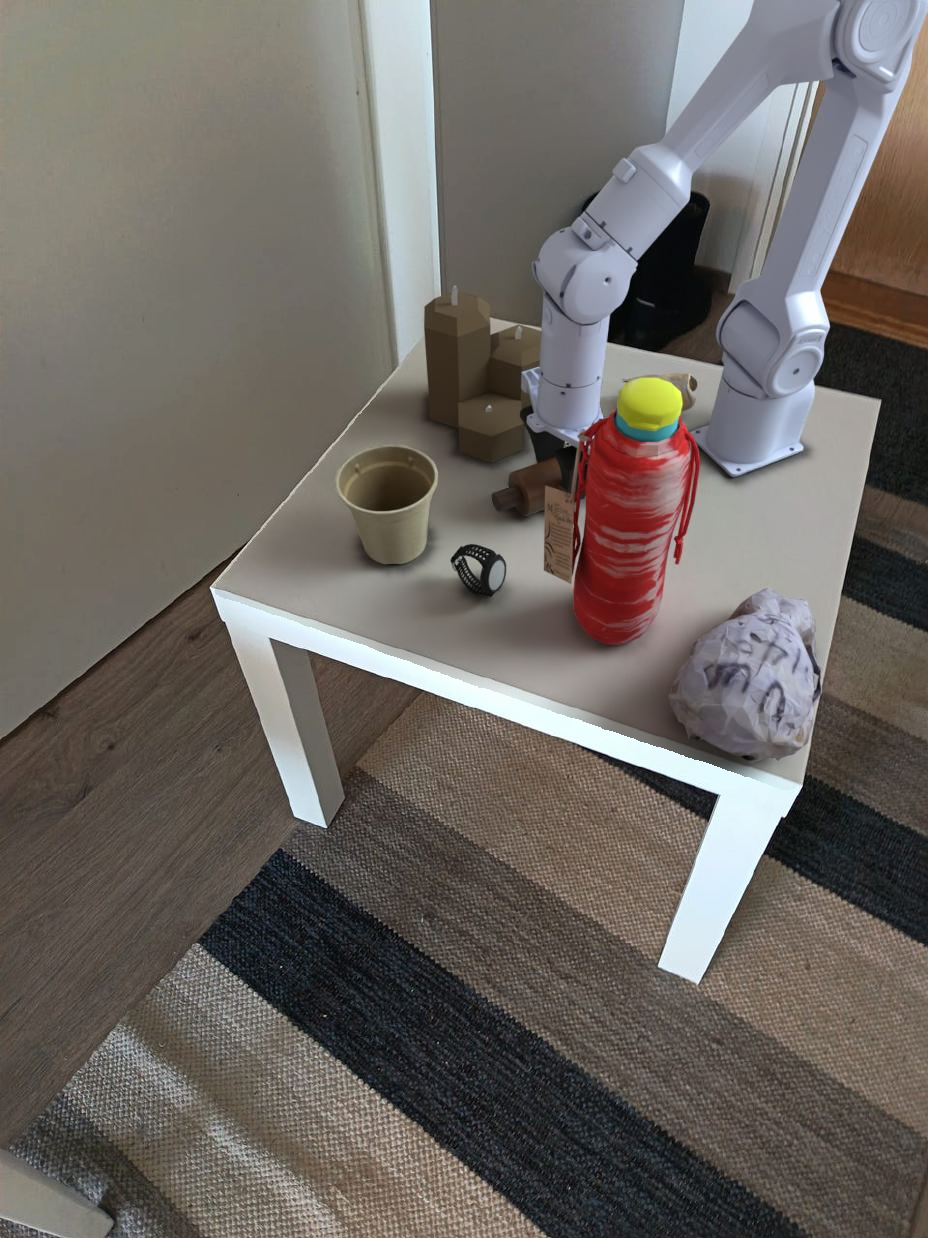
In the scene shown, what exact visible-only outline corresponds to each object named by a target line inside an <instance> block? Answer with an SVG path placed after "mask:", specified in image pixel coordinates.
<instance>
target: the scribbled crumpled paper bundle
mask: <svg viewBox="0 0 928 1238" xmlns="http://www.w3.org/2000/svg"><path fill="white" fill-rule="evenodd" d="M816 632H817V630H816V619H815V618H814V617H813V614H812V611H811V608H810V606H809V602H808V601H807V600H805V599H802V598H800V599H795V598H789V597H785V596H783V595H781V594H780V593H778V592H777V591H776V590H775V589H772V588H771V587H766V588H763V589H761V590H760V591H757V592H755V593H753V594H751V595H750V596H749V597H747V598H746V599H745V600H742V602H740V603H739V605H738V606H737V607H736V609H735V610H734V611H733V612H732V614H731V615H730V617H729V619H728V620H726V621H725V622H722V623H721V624H719V625H716V626H715V627H713V628H711V629H710V630H708V631H707V632H705V634H703V635H702V636H701V637H700V638H699V639H697V640H696V641H694V642H693V645H692V648H691V649H690V657H689V659H688V660H687V661H686V662H685V663H683V664H682V665H681V666H680V667H679V668H678V670H677V671H676V672H675V673H674V677H673V680H672V683H671V687H670V691H669V692H670V693H668V696H667V697H668V699H669V702H670V705H671V707H672V710H673V712H674V714H675V716H676V719H677V721H678V723H681V724H682V725H684V727H685V730H686V733H687V738H688V739H689V740H691V741H697V740H703V741H706V742H707V743H708V744H710V745H711V746H713V747H714V748H716V749H718V750H720V751H725V752H727V753H729V754H730V755H733V756H735V757H742V758H743V760H745V761H747V762H749V763H751V764H755V763H757V762H758V761H761V760H765V759H766V758H771V759H776V761H780V760H781V759H783V758H786V757H788V756H792V755H795V754H796V753H797V752H799V751H800V750H801V749H802V748H804V747H805V746H807V744H808V743H809V739H810V735H811V732H812V729H813V727H814V719H815V710H814V708H813V707H814V706H815V705H816V704H817V702H818V701H819V699H820V697H821V695H822V694H823V686H822V667H821V666H820V665H819V663H818V659H817V653H816ZM815 675H816V676H817V682H816V686H815V678H816V677H815Z"/></svg>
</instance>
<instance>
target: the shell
mask: <svg viewBox="0 0 928 1238" xmlns="http://www.w3.org/2000/svg"><path fill="white" fill-rule="evenodd" d="M638 378H659V379H662V380H664V381H667V382H670V383H672V384H673V385H674V386H675V387H676V388H677V389H678V390H679V391H680V392H681V396H682V402H683V405H682V409H681V413H683V412H686V411H687V410H689V409H691V408H692V407H693V406H694V405H695V403H696V397H695V395H694V393H693V392H695V391H696V390H697V388H698V381H697V379H696V378H695V376H694V375H692V374H691V373H689V372H688V373H678V372H677V373H670V374H645V375H640V376H635V377H632V378H622V379H621V382H623V383H627V382H629V381H632V380H635V379H638Z"/></svg>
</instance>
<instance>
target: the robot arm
mask: <svg viewBox="0 0 928 1238" xmlns="http://www.w3.org/2000/svg"><path fill="white" fill-rule="evenodd" d="M927 15H928V0H753V2H752V5H751V9H750V13H749V16H748V19H747V21H746V23H745V24H744V26H743V27H742V29H741V30H740V32H739V33H738V34H737V35H736V37H735V38H734V40H733V41H732V42H731V44H730V45H729V47H728V48H727V49H726V51H725V52H724V53H723V55H721V57H720V59H719V60H718V62H717V63H716V64H715V66H714V67H713V69H712V70H711V71H710V72H709V74H708V76H707V77H706V78H705V80H704V81H703V83H702V84H701V85H700V86H699V88H698V89H697V91H696V92H695V93H694V95H693V96H692V97H691V99H690V101H689V102H688V103H687V105H686V106H685V107H684V108H683V110H682V111H681V113H680V114H679V116H677V118H676V120H675V121H674V122H673V123H672V125H671V127H670V128H669V129H668V131H667V132H666V133H665V134H664V135H663V137H662V139H661V140H660V141H659V142H655V143H651V144H645V145H640V146H637V147H635V149H633V150H632V152H631V153H630V154H629V155H628V157H627V158H626V157H623V158H621V159H620V161H619V162H618V163H617V164H616V165H615V167H613V169H612V170H611V173H612V174H613V175H612V176H611V177H610V179H609V180H608V181H607V182H606V183H605V185H604V186H603V187H602V188H601V190H600V191H599V192H598V193H597V195H596V196H595V197H594V199H593V200H592V201H591V202H590V203H589V204H588V206H587V207H586V208H585V210H584V211H582V213H581V215H580V216H578V217H576V219H575V220H574V222H573V223H572V224H571V226H567V227H564V228H562V229H559V230H557V231H555V232H554V233H552V234H551V235H550V236H549V237H548V238H547V239H546V240H545V242H544V243H543V244H542V246H541V248H540V250H539V253H538V257H537V259H536V260H534V261H532V262H531V272H532V276H533V279H534V281H535V282H536V283H537V284H538V286H539V287H540V288H541V289H542V292H543V293H542V294H543V296H542V297H543V298H542V317H541V330H540V331H541V348H540V367H536V368H533V369H530V370H527V371H524V372H522V375H521V389H522V390H523V391H524V392H525V393H529V395H530V399H531V403H532V405H531V406H528V407H525V408H523V409H522V410H521V411H520V417H521V419H522V421H523V422H524V424H525V425H524V426H525V428H526V430H527V432H528V435H529V437H530V440H531V444H532V447H533V451H534V456H535V460H536V463H539V462H541V461H544V460H547V459H550V458H553V457H556V459H557V461H558V464H559V466H560V470H561V474H562V487H563V488H564V489H566V490H567V491H569V492H570V493H571V490H572V482H573V474H574V467H575V460H576V453H577V448H578V444H579V438H578V437H577V436H578V435H579V434H580V433H581V432H583V431H586V430H587V429H588V428H589V427H590V426H591V425H592V424H594V423H596V422H598V421H599V420H601V419H604V418H605V417H604V415H603V412H602V409H601V406H600V402H601V396H602V395H601V394H602V385H603V376H604V368H605V360H606V350H607V343H608V335H609V334H608V333H609V326H610V319H611V314H612V313H613V312H614V311H615V310H616V309H617V308H619V307H620V306H621V305H622V304H623V302H624V301H625V299H626V297H627V295H628V292H629V289H630V283H631V279H632V276H633V275H634V274H635V273H636V271H637V267H638V265H639V263H638V262H637V261H638V260H640V259H641V257H642V256H643V255H644V254H645V252H647V250H649V248H650V247H651V246H652V244H653V243H654V242H655V241H656V240H657V239H658V237H659V236H661V234H662V233H663V232H664V231H665V229H666V228H668V227H669V225H670V224H671V223H672V222H673V220H674V219H675V218H676V217H677V216H678V214H680V212H681V211H682V210H683V209H684V208H685V206H686V205H687V204H688V203H689V201H690V200H691V199H690V198H691V191H692V190H691V189H692V178H693V175H694V173H695V172H696V171H697V170H698V169H699V168H700V167H701V166H702V165H703V164H704V163H705V162H706V161H707V160H708V159H709V158H710V156H711V155H713V154H714V153H715V152H716V151H717V149H718V148H720V146H722V144H723V143H724V142H725V141H726V140H727V139H728V138H729V137H730V136H731V135H733V133H734V132H735V131H736V130H737V129H738V128H739V127H740V126H741V125H742V124H743V122H745V121H746V120H747V118H748V117H750V115H751V114H752V113H754V111H755V110H757V108H758V107H759V106H760V105H761V104H762V103H763V102H764V101H765V100H766V99H767V98H768V97H769V96H770V95H771V94H772V93H773V92H774V91H775V90H776V89H777V88H778V87H780V86H786V85H794V84H802V83H812V82H820V81H821V82H822V81H823V82H824V85H825V92H824V95H823V97H822V100H821V103H820V106H819V108H818V111H817V114H816V116H815V120H814V122H813V126H812V128H811V131H810V134H809V137H808V140H807V142H806V145H805V148H804V151H803V154H802V157H801V159H800V162H799V165H798V168H797V169H796V170H797V171H796V173H795V176H794V179H793V182H792V185H791V188H790V190H789V194H788V195H787V199H786V201H785V204H784V207H783V210H782V213H781V216H780V218H779V222H778V224H777V227H776V230H775V233H774V236H773V239H772V242H771V245H770V247H769V249H768V252H767V256H766V258H765V261H764V264H763V267H762V270H761V273H760V274H759V275H758V276H755V277H751V278H748V279H747V280H744V281H742V282H741V283H739V285H738V286H737V288H736V289H737V290H736V293H735V295H734V297H733V299H732V301H731V302H730V304H729V306H728V307H727V308H726V309H725V311H724V312H723V313H722V315H721V316H720V318H719V320H718V323H717V326H716V330H715V339H716V342H717V345H718V346H719V347H720V348H721V349H722V350H723V353H722V357H721V362H722V363H723V369H722V373H721V377H720V380H719V385H718V388H717V393H716V396H715V401H714V405H713V410H712V412H711V416H710V417H711V418H710V421H709V424H707V425H704V426H702V427H699V428H697V429H693V430H690V431H689V432H690V434H691V435H692V436H693V437H694V439H695V442H696V444H697V446H698V447H699V448H700V449H702V450H703V451H704V452H705V453H706V454H707V455H708V456H709V457H710V458H711V459H712V460H713V461H714V462H715V463H716V464H717V465H718V466H719V467H720V468H722V469H723V470H724V471H725V473H727V474H728V475H729V476H730V477H732V478H736V477H740V476H742V475H744V474H747V473H749V472H753V471H755V470H757V469H760V468H763V467H765V466H768V465H771V464H773V463H775V462H778V461H781V460H783V459H786V458H789V457H791V456H794V455H796V454H799V453H801V452H803V450H804V447H805V446H804V444H802V443H801V442H800V440H801V437H802V434H803V431H804V428H805V425H806V423H807V420H808V417H809V415H810V412H811V410H812V409H811V408H812V406H813V404H814V403H813V402H814V400H815V394H816V392H815V389H816V388H815V381H814V379H815V377H816V375H817V374H818V373H819V371H820V369H821V367H822V364H823V361H824V356H825V341H826V338H827V336H828V334H829V331H830V328H831V325H830V320H829V317H828V314H827V311H826V308H825V307H826V306H825V304H824V301H823V297H822V294H821V289H822V286H823V284H824V281H825V280H826V277H827V275H828V272H829V269H830V267H831V264H832V263H833V260H834V257H835V255H836V253H837V250H838V247H839V245H840V243H841V241H842V238H843V235H844V233H845V231H846V228H847V227H848V223H849V221H850V219H851V217H852V214H853V212H854V208H855V207H856V204H857V202H858V199H859V197H860V194H861V192H862V189H863V187H864V185H865V182H866V181H867V178H868V175H869V172H870V170H871V168H872V166H873V163H874V161H875V158H876V157H877V153H878V151H879V148H880V146H881V144H882V141H883V139H884V136H885V134H886V132H887V129H888V126H889V124H890V121H891V119H892V117H893V115H894V112H895V110H896V107H897V105H898V103H899V100H900V98H901V95H902V93H903V91H904V87H905V85H906V84H907V81H908V78H909V75H910V72H911V69H912V68H911V67H912V62H913V61H912V60H913V54H914V47H915V44H916V43H917V39H918V37H919V34H920V32H921V30H922V27H923V25H924V22H925V20H926V17H927ZM587 437H588V436H587ZM593 438H594V436H593ZM593 438H592V439H593ZM565 443H567V444H568V446H565ZM585 444H586V441H585ZM589 454H590V445H589V449H588V456H589ZM582 457H583V452H582V449H581V454H580V461H579V463H580V462H581V461H582ZM587 468H588V461H587V462H586V463H585V469H584V475H583V479H584V480H585V481H586V476H587ZM578 483H579V473H578V475H577V482H576V491H575V494H576V493H577V491H578ZM582 489H583V484H582ZM584 499H586V491H585V492H584V493H583V494H581V499H580V501H581V500H584ZM576 500H577V499H576ZM576 500H575V503H576Z"/></svg>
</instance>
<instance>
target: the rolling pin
mask: <svg viewBox="0 0 928 1238" xmlns="http://www.w3.org/2000/svg"><path fill="white" fill-rule="evenodd" d="M558 485H560V486H561V487H562V474H561V470H560V466H559V464H558V461H557V459H556V457H553V458H550V459H547V460H544V461H541V462H539V463H537V462H536V463H533V464H531V465H527V466H525V467H522V468H519V469H517V470H516V469H515V470H514V471H511V472H509V474H508V477H507V487H504V488H502V489H500V490H499V489H498V490H496V491H494V492H492V493H491V495H490V500H491V504H492V506H493V508H494V510H495V511H496V512H498V513H500V512H503V511H506V510H509V509H511V508H514V507H515V508H516V510H517V511H518V512H519V513H520V515H522V516H524V517H528V516H530V515H533V514H535V513H538V512H541V511H545V486H548V487H551V488H554V489H557V490H558Z"/></svg>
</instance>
